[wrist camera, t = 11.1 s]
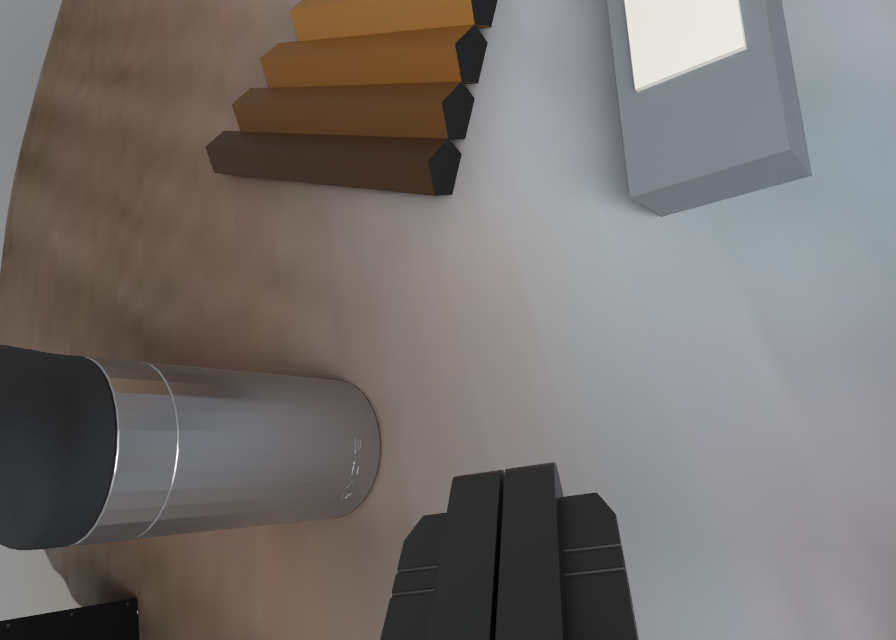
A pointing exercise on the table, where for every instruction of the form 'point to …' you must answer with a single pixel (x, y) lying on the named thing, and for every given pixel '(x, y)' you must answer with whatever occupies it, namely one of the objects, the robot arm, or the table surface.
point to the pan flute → (363, 96)
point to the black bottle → (77, 624)
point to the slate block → (705, 100)
